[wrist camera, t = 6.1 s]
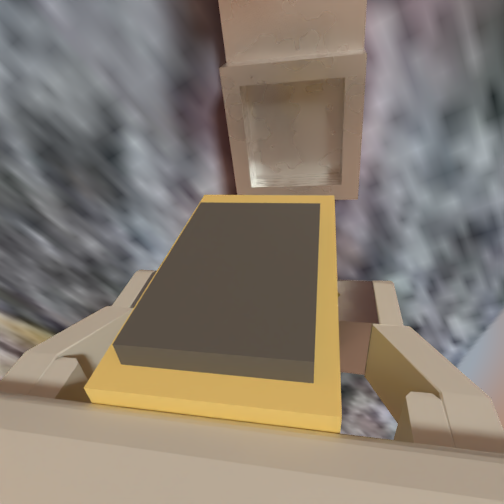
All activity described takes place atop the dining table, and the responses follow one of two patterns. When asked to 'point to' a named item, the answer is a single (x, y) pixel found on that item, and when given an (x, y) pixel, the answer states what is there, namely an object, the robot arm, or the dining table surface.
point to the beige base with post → (294, 94)
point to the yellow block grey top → (237, 319)
